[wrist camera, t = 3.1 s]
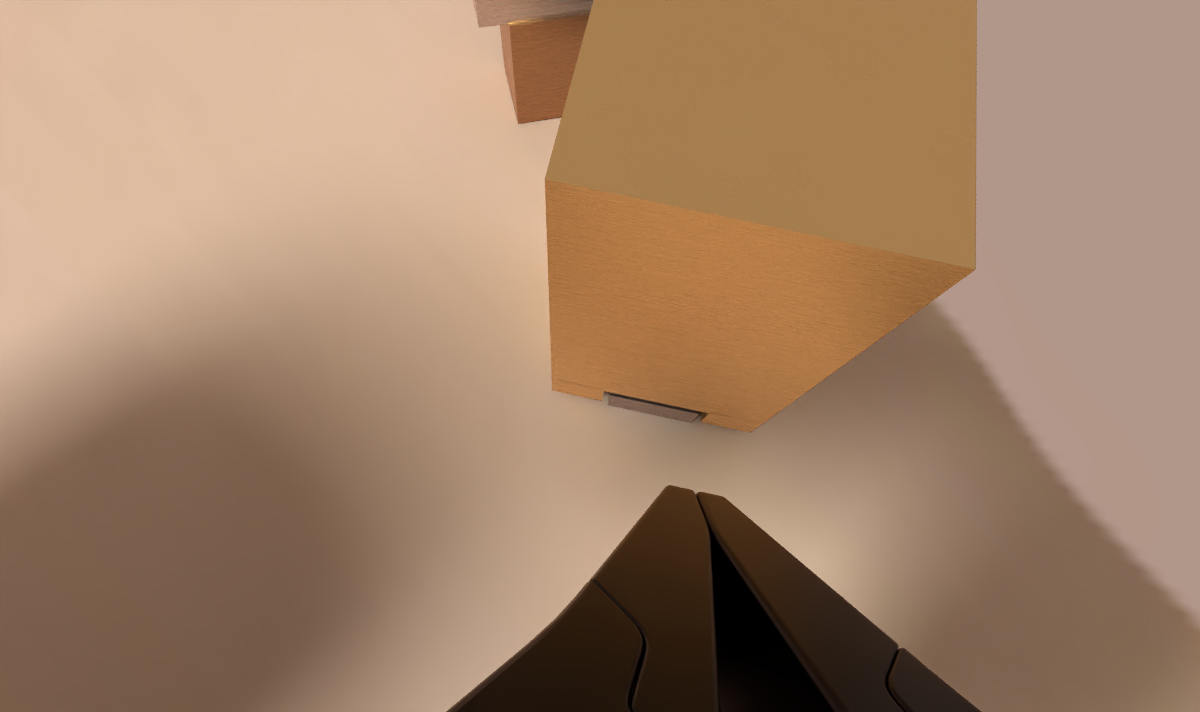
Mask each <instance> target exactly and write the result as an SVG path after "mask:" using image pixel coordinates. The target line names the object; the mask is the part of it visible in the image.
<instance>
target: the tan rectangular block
mask: <svg viewBox="0 0 1200 712" xmlns="http://www.w3.org/2000/svg"><path fill="white" fill-rule="evenodd" d="M976 35H977V0H593V4H592V8H591V11H590V15H589V19H588V22H587V26H586V30H585V33H584V37H583V41H582V44H581V48H580V52H579V55H578V59H577V63H576V67H575V70H574V74H573V78H572V81H571V85H570V89H569V92H568V96H567V100H566V103H565V107H564V111H563V114H562V118H561V122H560V125H559V129H558V133H557V136H556V140H555V144H554V147H553V151H552V155H551V158H550V162H549V166H548V169H547V173H546V177H545V196H546V224H547V253H548V281H549V310H550V338H551V367H552V390H553V391H558V392H562V393H567V394H572V395H577V396H581V397H586V398H591V399H595V400H600V401H602V398H603V394H604V391H606V392H611V393H615V394H620V395H625V396H629V397H634V398H639V399H644V400H648V401H653V402H658V403H662V404H667V405H672V406H677V407H681V408H686V409H691V410H695V411H700V412H702V417H701V422H704V423H708V424H713V425H718V426H723V427H727V428H732V429H737V430H741V431H746V432H752V431H753V430H754V429H756V428H757V427H758V426H760V425H761V424H763V423H764V422H765V421H767V420H768V419H770V418H771V417H772V416H774V415H775V414H776V413H778V412H779V411H781V410H782V409H783V408H785V407H786V406H787V405H789V404H790V403H792V402H793V401H794V400H796V399H797V398H799V397H800V396H801V395H803V394H804V393H805V392H807V391H808V390H810V389H811V388H812V387H814V386H815V385H817V384H818V383H819V382H821V381H822V380H823V379H825V378H826V377H828V376H829V375H830V374H832V373H833V372H834V371H836V370H837V369H839V368H840V367H841V366H843V365H844V364H846V363H847V362H848V361H850V360H851V359H852V358H854V357H855V356H857V355H858V354H859V353H861V352H862V351H864V350H865V349H866V348H868V347H869V346H870V345H872V344H873V343H875V342H876V341H877V340H879V339H880V338H881V337H883V336H884V335H886V334H887V333H888V332H890V331H891V330H893V329H894V328H895V327H897V326H898V325H899V324H901V323H902V322H904V321H905V320H906V319H908V318H909V317H911V316H912V315H913V314H915V313H916V312H917V311H919V310H920V309H922V308H923V307H924V306H926V305H927V304H928V303H930V302H931V301H933V300H934V299H935V298H937V297H938V296H940V295H941V294H942V293H944V292H945V291H946V290H948V289H949V288H950V287H952V286H953V285H955V284H956V283H957V282H959V281H960V280H962V279H963V278H964V277H966V276H967V275H969V274H970V273H971V272H973V271H974V270H975V269H976V266H975V265H976V50H977V49H976V47H977V42H976V41H977V39H976V37H977V36H976Z"/></svg>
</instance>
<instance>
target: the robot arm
mask: <svg viewBox="0 0 1200 712" xmlns="http://www.w3.org/2000/svg"><path fill="white" fill-rule="evenodd" d="M898 648H899V646H898V644H897V643H896V642H895V641H893V640H892V639H891V638H890V637H889V636H888V635H886V634H885V633H884V632H883V631H882V630H880V629H879V628H878V627H877V626H876V625H875V624H873V623H872V622H871V621H870V620H869V619H867V618H866V617H865V616H864V615H863V614H862V613H860V612H859V611H858V610H857V609H856V608H854V607H853V606H852V605H851V604H850V603H849V602H847V601H846V600H845V599H844V598H843V597H841V596H840V595H839V594H838V593H837V592H836V591H834V590H833V589H832V588H831V587H830V586H828V585H827V584H826V583H825V582H824V581H823V580H821V579H820V578H819V577H818V576H817V575H815V574H814V573H813V572H812V571H811V570H810V569H808V568H807V567H806V566H805V565H804V564H802V563H801V562H800V561H799V560H798V559H797V558H795V557H794V556H793V555H792V554H791V553H789V552H788V551H787V550H786V549H785V548H784V547H782V546H781V545H780V544H779V543H778V542H776V541H775V540H774V539H773V538H772V537H771V536H769V535H768V534H767V533H766V532H765V531H764V530H762V529H761V528H760V527H759V526H758V525H756V524H755V523H754V522H753V521H752V520H751V519H749V518H748V517H747V516H746V515H745V514H743V513H742V512H741V511H740V510H739V509H738V508H736V507H735V506H734V505H733V504H732V503H730V502H729V501H728V500H727V499H726V498H724V497H722V496H718V495H713V494H709V493H704V492H698V493H696V494H695V492H694V491H693V490H690V489H685V488H680V487H676V486H671V485H669V486H667V487H665V488H664V490H663V491H662V492H661V493H660V495H659V496H658V497H657V498H656V499H655V501H654V502H653V503H652V504H651V506H650V507H649V508H648V509H647V511H646V512H645V513H644V514H643V515H642V517H641V518H640V519H639V520H638V522H637V523H636V524H635V525H634V526H633V528H632V529H631V530H630V531H629V533H628V534H627V535H626V536H625V538H624V539H623V540H622V541H621V542H620V544H619V545H618V546H617V547H616V549H615V550H614V551H613V552H612V554H611V555H610V556H609V557H608V558H607V560H606V561H605V562H604V563H603V565H602V566H601V567H600V568H599V570H598V571H597V572H596V573H595V574H594V576H593V577H592V578H591V579H590V581H589V582H587V583H586V584H585V586H584V587H583V588H582V589H581V590H580V592H579V593H578V594H577V595H576V597H575V598H574V599H573V600H572V601H571V602H570V603H569V604H568V605H567V607H566V608H565V609H564V610H563V611H562V612H561V613H560V614H559V615H558V616H557V617H556V619H555V620H554V621H552V622H551V623H550V624H549V625H548V626H547V627H546V628H545V629H544V630H543V631H541V632H540V633H539V634H538V635H537V636H536V637H535V638H534V639H533V640H531V641H530V642H529V643H528V644H527V645H526V646H525V647H523V648H522V649H521V650H520V651H519V652H517V653H516V654H515V655H514V656H513V657H511V658H510V659H509V660H508V661H507V662H505V663H504V664H503V665H502V666H501V667H499V668H498V669H497V670H496V671H495V672H493V673H492V674H491V675H490V676H489V677H487V678H486V679H485V680H484V681H483V682H481V683H480V684H479V685H478V686H477V687H475V688H474V689H473V690H472V691H471V692H469V693H468V694H467V695H466V696H465V697H463V698H462V699H461V700H460V701H459V702H457V703H456V704H455V705H454V706H453V707H451V708H450V709H449V710H448V711H447V712H981V711H980V710H979V709H977V708H976V707H975V706H973V705H972V704H971V703H970V702H968V701H967V700H966V699H965V698H964V697H962V696H961V695H960V694H959V693H957V692H956V691H955V690H954V689H953V688H951V687H950V686H949V685H948V684H946V683H945V682H944V681H943V680H942V679H940V678H939V677H938V676H937V675H935V674H934V673H933V672H932V671H931V670H929V669H928V668H927V667H926V666H925V665H923V664H922V663H921V662H920V661H919V660H918V659H916V658H915V657H914V656H913V655H912V654H911V653H909V652H908V651H907V650H906V649H904V648H900V649H899V650H898Z"/></svg>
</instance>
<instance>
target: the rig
mask: <svg viewBox="0 0 1200 712" xmlns="http://www.w3.org/2000/svg"><path fill="white" fill-rule="evenodd" d="M473 3H474V8H475V12H476V17H477V21H478V25H479V28H481V27H488V26H496V25H500V30H501V39H502V49H503V58H504V66H505V71H506V75H507V79H508V83H509V87H510V91H511V96H512V100H513V104H514V108H515V112H516V117H517V121H518V124H519V123H526V122H532V121H538V120H545V119H551V118H558V117H562V114H563V111H564V107H565V103H566V100H567V96H568V92H569V89H570V85H571V81H572V78H573V74H574V70H575V67H576V63H577V59H578V55H579V52H580V48H581V44H582V41H583V37H584V33H585V30H586V26H587V22H588V19H589V15H590V11H591V8H592V4H593V0H473ZM608 405H611V406H616V407H621V408H625V409H630V410H635V411H639V412H644V413H649V414H654V415H658V416H663V417H668V418H672V419H677V420H682V421H686V422H691V423H692V421H693V420H694V419H695V418H696V417H697V416H698V415H699V411H695V410H691V409H686V408H681V407H677V406H672V405H667V404H662V403H658V402H653V401H648V400H644V399H639V398H634V397H629V396H625V395H620V394H615V393H611V392H610V397H609V402H608Z"/></svg>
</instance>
